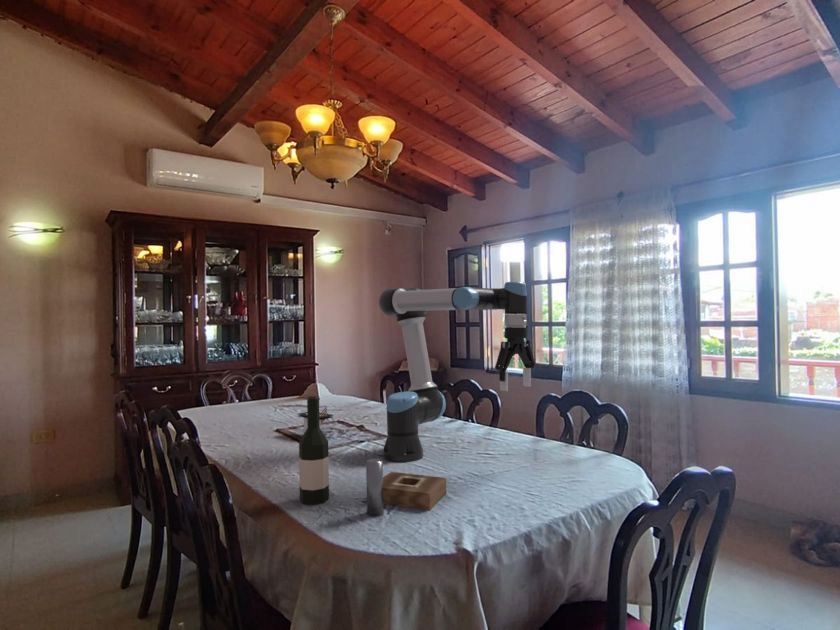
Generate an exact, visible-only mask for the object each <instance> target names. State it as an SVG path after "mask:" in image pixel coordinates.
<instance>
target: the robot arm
mask: <svg viewBox="0 0 840 630" xmlns="http://www.w3.org/2000/svg"><path fill="white" fill-rule="evenodd" d="M527 297H528V291H527V284H526V282H524V281H506V282H505V283H504V286H503V287H502V288H498V287H497V288H490V287H489V288H487V287H486V288H485V287H471V286H463V287H454V288H434V289H432V288H431V289H420V288H414V287H395V286H392V287H388V288H386V289H384V290H382V292H381V293H380V295H379V297H378V306H379V309H380V310H381V312H382V313H383V314H385V315H386V316H389V317H395V318H396V322H397V324H398V325H399V326H401V330H402V334H403V335H402V336H403V343H404V349H405V354H406V359H407V367H408V373H409V378H410V379H409V380H410V387H409V388H408V390H407V391H400V392H398V391H397V392H394V393H392V394H390V395H389V396H388V397H387V400H386V408H385V409H386V425H387V426H386V427H387V429H386V431H387V434H386V435H387V436H386V439H385V442H384V446H383V449H382V458H383V459H385V460H387V461H391V462H400V463H402V462H412V461H417V460H420V459H422V458H423V457H424V448H423V445H422V443H421V440H420V437H419V425H422V424H425V423H430V422H434V421H436V420H439V419H440V418H441V417H442V416H443V415H444V413H445V411H446V407H447V404H446V403H447V402H446V398H445V396H444V394H443V393H442V392H441V391H440V390H439V388H438V385H437V384H436V383H434V381H433V377H432V371H431V365H430V357H429V353H428V352H429V351H428V348H427V340H426V334H425V330H424V329H425V328H424V321H425V320H426V314H427V313H428V311H458V310H459V311H470V310H471V311H473V310H475V311H476V310H478V311H479V310H481V311H489V310H493V311H494V310H504V319H503V320H504V321H503V323H504V326H505V328H504V339H507V340H506V341H501V342H500V349H499V352H498V355H497V359H496V363H495V367H494V369H495V370H496V372H497V371H498V372H499V373H498V374H499V377H498V378H499V391H503V392H508V391H509V371H507V369H508V368H509V365H510V364H511V361H512V359H513V357H514V356H516V355H518V357H519V359H520V360H521V363H522V364H523V366H524V367H522V374H523V375H522V386H523V387H528V388H530V387H531V386H532V385H531V384H532V383H531V382H532V380H531V379H532V369H534V368H535V365H536V362H535V358H534V355H533V352H532V349H531V342H530V340H529V339H527V337H528V336H527V335H528V328H527V327H526V326H527V323H528V322H527V321H528V318H527V316H528V315H527V311H528V310H527V306H528V305H527V301H528V299H527Z"/></svg>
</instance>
